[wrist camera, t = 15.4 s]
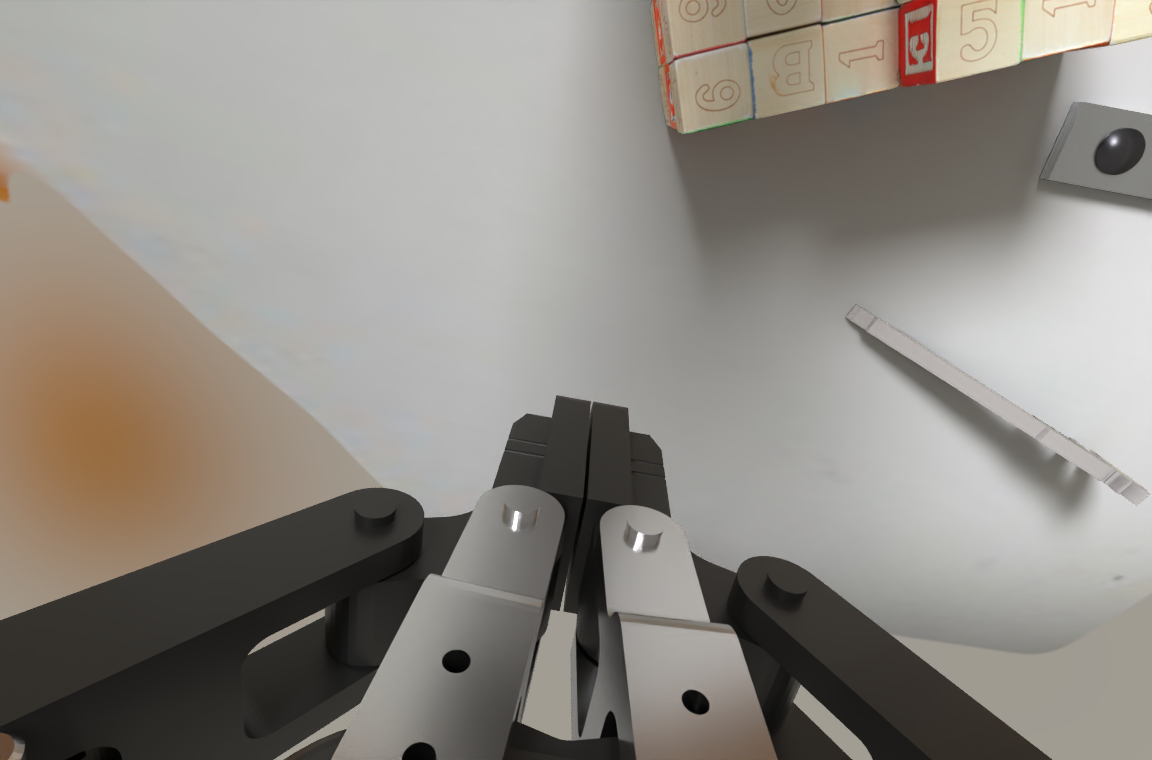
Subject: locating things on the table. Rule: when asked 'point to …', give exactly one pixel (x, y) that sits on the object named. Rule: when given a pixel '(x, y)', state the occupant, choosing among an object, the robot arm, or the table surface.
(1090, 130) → the bolt strip
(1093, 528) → the table surface
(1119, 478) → the caliper
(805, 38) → the stack of blocks
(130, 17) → the table surface
